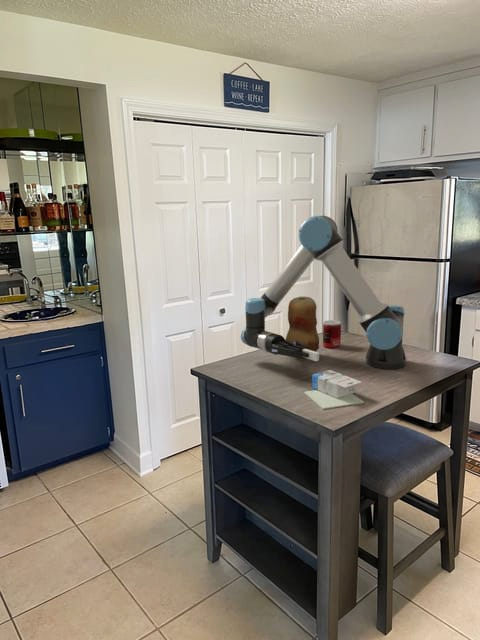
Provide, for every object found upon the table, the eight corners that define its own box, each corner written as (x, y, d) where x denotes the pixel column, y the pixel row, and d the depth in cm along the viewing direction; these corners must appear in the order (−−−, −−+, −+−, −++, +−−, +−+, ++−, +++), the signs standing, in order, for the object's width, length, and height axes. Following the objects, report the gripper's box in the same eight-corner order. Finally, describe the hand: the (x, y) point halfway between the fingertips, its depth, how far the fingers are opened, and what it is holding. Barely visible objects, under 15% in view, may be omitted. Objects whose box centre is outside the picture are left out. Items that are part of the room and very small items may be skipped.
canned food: (342, 344, 208) (342, 320, 205) (338, 349, 201) (338, 325, 198) (325, 343, 211) (325, 319, 208) (320, 348, 204) (321, 323, 201)
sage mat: (342, 387, 158) (342, 386, 158) (364, 403, 145) (364, 402, 145) (304, 392, 154) (304, 391, 154) (322, 409, 141) (322, 408, 141)
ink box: (311, 388, 157) (343, 402, 145) (311, 374, 156) (344, 387, 144) (330, 382, 162) (362, 395, 150) (330, 369, 160) (363, 381, 148)
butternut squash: (283, 360, 188) (282, 300, 182) (287, 351, 200) (287, 294, 195) (317, 362, 184) (318, 300, 179) (320, 352, 197) (320, 294, 191)
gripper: (284, 349, 181) (330, 363, 163) (258, 355, 174) (303, 371, 155) (284, 330, 180) (330, 342, 161) (258, 336, 172) (304, 350, 154)
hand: (317, 357), depth 158 cm, fingers closed
